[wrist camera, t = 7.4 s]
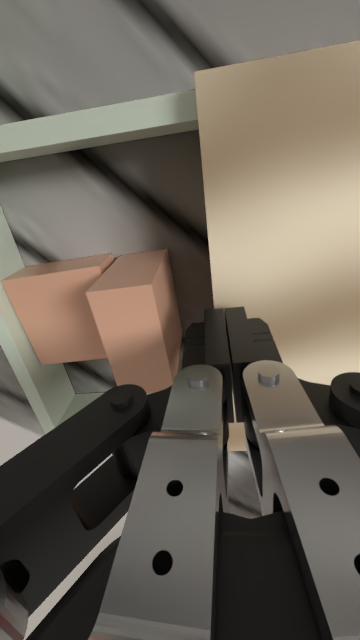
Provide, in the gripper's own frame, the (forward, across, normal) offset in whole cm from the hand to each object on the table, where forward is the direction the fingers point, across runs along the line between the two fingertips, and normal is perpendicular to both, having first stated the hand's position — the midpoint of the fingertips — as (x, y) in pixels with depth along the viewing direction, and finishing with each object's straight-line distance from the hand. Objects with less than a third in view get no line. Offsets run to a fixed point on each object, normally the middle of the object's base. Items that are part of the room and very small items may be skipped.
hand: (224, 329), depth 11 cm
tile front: (+2, +2, 0) cm, 3 cm away
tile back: (+2, +8, 0) cm, 8 cm away
